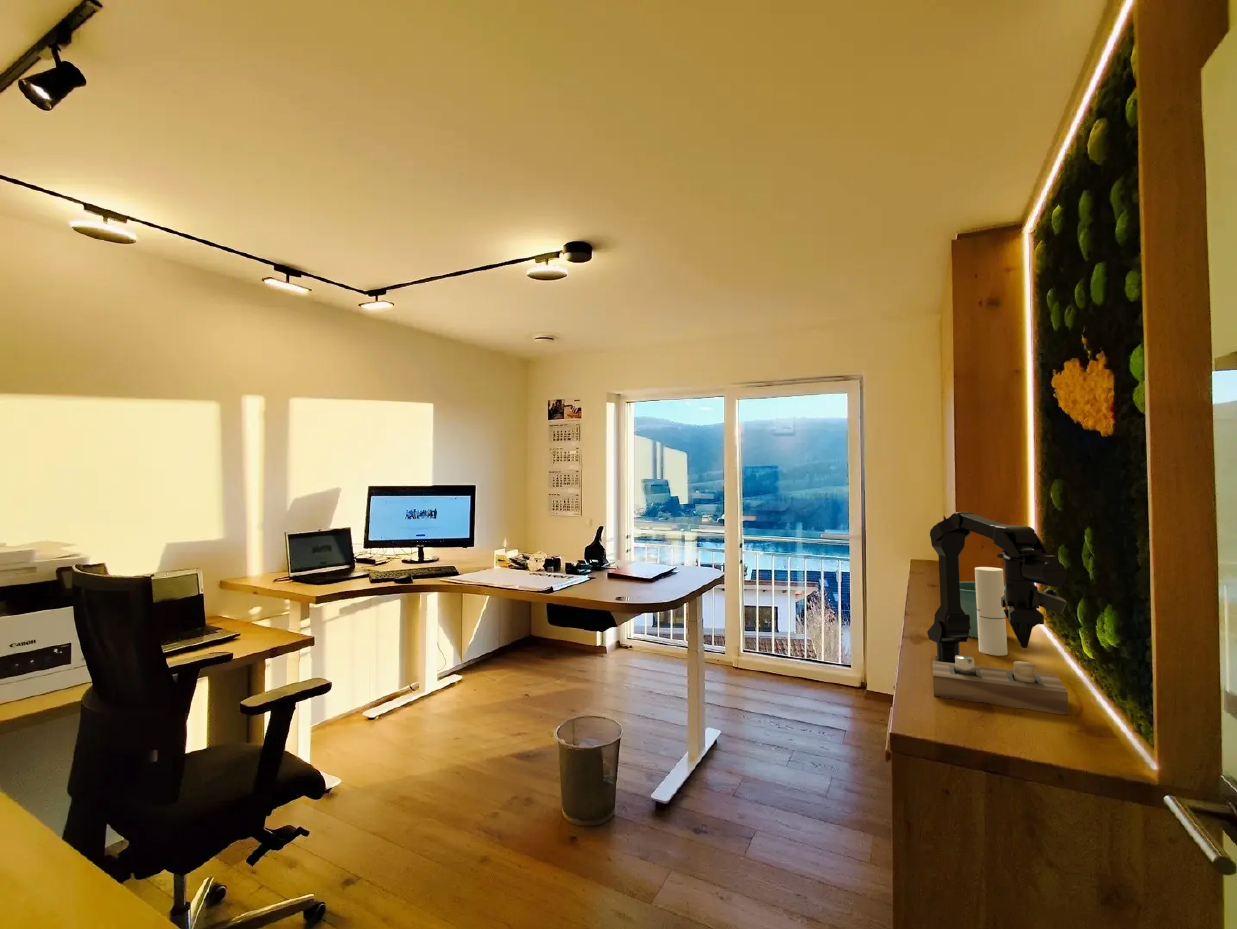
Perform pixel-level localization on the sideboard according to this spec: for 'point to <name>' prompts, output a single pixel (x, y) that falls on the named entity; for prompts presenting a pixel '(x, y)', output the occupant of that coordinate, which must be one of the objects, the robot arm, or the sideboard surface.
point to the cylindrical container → (990, 611)
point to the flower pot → (970, 605)
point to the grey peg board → (1001, 688)
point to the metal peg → (964, 665)
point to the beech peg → (1024, 672)
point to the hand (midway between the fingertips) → (1022, 645)
